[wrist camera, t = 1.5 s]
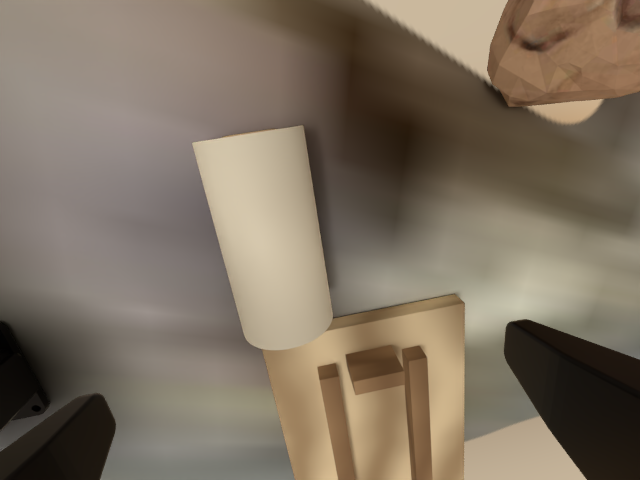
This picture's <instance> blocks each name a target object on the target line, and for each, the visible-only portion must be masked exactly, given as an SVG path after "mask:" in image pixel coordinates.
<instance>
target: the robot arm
mask: <svg viewBox="0 0 640 480" xmlns="http://www.w3.org/2000/svg"><path fill="white" fill-rule="evenodd" d="M504 355H505V359H506V361H507V363H508V365H509V366H510V368H511V370H512V371H513V373H514V374H515V376H516V378H517V379H518V381H519V382H520V384H521V386H522V387H523V389H524V390H525V392H526V394H527V395H528V397H529V398H530V400H531V402H532V403H533V405H534V407H535V408H536V410H537V411H538V413H539V415H540V416H541V418H542V419H543V421H544V422H545V424H546V425H547V427H548V428H549V429H550V431H551V432H552V434H553V435H554V436H555V438H556V439H557V440H558V442H559V443H560V445H561V446H562V447H563V449H564V450H565V451H566V452H567V454H568V455H569V456H570V458H571V459H572V460H573V462H574V463H575V464H576V466H577V467H578V468H579V469H580V471H581V472H582V474H583V475H584V476H585V478H586V479H587V480H640V360H639V359H636V358H633V357H631V356H628V355H625V354H622V353H620V352H617V351H614V350H611V349H608V348H606V347H603V346H600V345H597V344H595V343H592V342H589V341H586V340H583V339H581V338H578V337H575V336H572V335H570V334H567V333H564V332H561V331H558V330H556V329H553V328H550V327H547V326H545V325H542V324H539V323H536V322H533V321H531V320H527V319H523V320H517V321H511V322H509V323H508V324H507V326H506V332H505V344H504ZM49 405H50V403H49V401H48V399H47V397H46V395H45V394H44V392H43V390H42V388H41V386H40V385H39V383H38V381H37V379H36V378H35V376H34V374H33V372H32V370H31V369H30V367H29V365H28V363H27V362H26V360H25V358H24V356H23V354H22V353H21V351H20V349H19V347H18V346H17V344H16V342H15V340H14V338H13V337H12V335H11V333H10V331H9V330H8V328H7V327H6V325H4V324H2V323H0V432H1V431H2V429H3V428H4V427H5V426H6V425H7V424H8V423H9V422H10V421H12V420H16V419H21V418H26V417H31V416H36V415H40V414H43V413H44V412H45V411H46V409H47V408H48V407H49ZM115 429H116V423H115V419H114V417H113V415H112V413H111V410H110V408H109V406H108V404H107V402H106V400H105V398H104V396H103V395H102V394H100V393H94V394H88V395H82V396H79V397H77V398H75V399H74V400H72V401H71V402H70V403H68V404H67V405H65V406H64V407H63V408H61V409H60V410H58V411H57V412H56V413H54V414H53V415H51V416H50V417H48V418H47V419H46V420H44V421H43V422H41V423H40V424H39V425H37V426H36V427H34V428H33V429H32V430H30V431H29V432H27V433H26V434H25V435H23V436H22V437H20V438H19V439H18V440H16V441H15V442H13V443H12V444H11V445H9V446H8V447H6V448H5V449H4V450H2V451H1V452H0V480H100V478H101V474H102V471H103V468H104V465H105V462H106V459H107V456H108V453H109V450H110V447H111V443H112V440H113V437H114V434H115Z"/></svg>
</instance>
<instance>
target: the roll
mask: <svg viewBox="0 0 640 480" xmlns="http://www.w3.org/2000/svg"><path fill="white" fill-rule="evenodd" d="M192 145H193V149H194V153H195V156H196V160H197V164H198V167H199V171H200V175H201V178H202V182H203V186H204V189H205V193H206V197H207V200H208V204H209V208H210V212H211V215H212V219H213V223H214V226H215V230H216V234H217V237H218V241H219V245H220V248H221V252H222V256H223V259H224V263H225V267H226V270H227V274H228V278H229V282H230V285H231V289H232V293H233V296H234V300H235V304H236V307H237V311H238V315H239V318H240V322H241V326H242V329H243V333H244V336H245V339H246V340H247V341H248V342H249V343H250V344H251V345H253V346H255V347H257V348H260V349H264V350H286V349H291V348H295V347H299V346H302V345H304V344H307V343H309V342H311V341H313V340H315V339H316V338H318V337H319V336H320V335H322V334H323V333H324V332H325V331H326V330H327V329H328V327H329V326H330V324H331V322H332V319H333V312H332V306H331V299H330V293H329V286H328V280H327V274H326V267H325V261H324V254H323V248H322V242H321V235H320V229H319V222H318V216H317V210H316V203H315V197H314V190H313V184H312V178H311V171H310V165H309V158H308V152H307V146H306V139H305V133H304V126H303V125H301V126H295V127H289V128H282V129H276V130H275V129H268V130H262V131H255V132H249V133H242V134H236V135H230V136H224V137H222V138H219V139H213V140H206V141H200V142H194V143H192Z"/></svg>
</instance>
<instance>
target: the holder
mask: <svg viewBox="0 0 640 480" xmlns="http://www.w3.org/2000/svg"><path fill="white" fill-rule="evenodd" d="M464 334H465V303H464V302H463V301H462V300H461V299H460V298H458V297H457V296H456V295H455V294H453V295H448V296H443V297H438V298H433V299H428V300H423V301H418V302H413V303H408V304H403V305H398V306H393V307H388V308H383V309H378V310H373V311H368V312H363V313H358V314H353V315H348V316H343V317H338V318H333V319H332V322H331V324H330V326H329V327H328V329H327V330H326V331H325V332H324V333H323V334H322V335H320V336H319V337H318V338H316V339H315V340H313V341H311V342H309V343H307V344H304V345H302V346H299V347H295V348H291V349H286V350H264V349H262V351H263V355H264V359H265V363H266V367H267V371H268V374H269V378H270V382H271V386H272V390H273V394H274V398H275V402H276V406H277V410H278V414H279V418H280V422H281V426H282V430H283V434H284V438H285V442H286V446H287V449H288V453H289V457H290V461H291V465H292V469H293V473H294V477H295V480H464Z"/></svg>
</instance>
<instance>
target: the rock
mask: <svg viewBox="0 0 640 480" xmlns="http://www.w3.org/2000/svg"><path fill="white" fill-rule="evenodd" d="M487 71H488V74H489V76H490V79H491V82H492V84H493V85H494V86H496V87H497V88H499V89H500V91H501V93H502V95H503V97H504V99H505V100H506V102H507V104H508V106H509V107H519V106H532V105H542V104H552V103H561V102H570V101H585V100H596V99H606V98H616V97H621V96H624V95H627V94H631V93H635V92H640V0H508V2H507V4H506V7H505V9H504V11H503V13H502V16H501V18H500V21H499V24H498V26H497V29H496V32H495V34H494V37H493V40H492V42H491V45H490V53H489V60H488V67H487Z"/></svg>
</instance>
